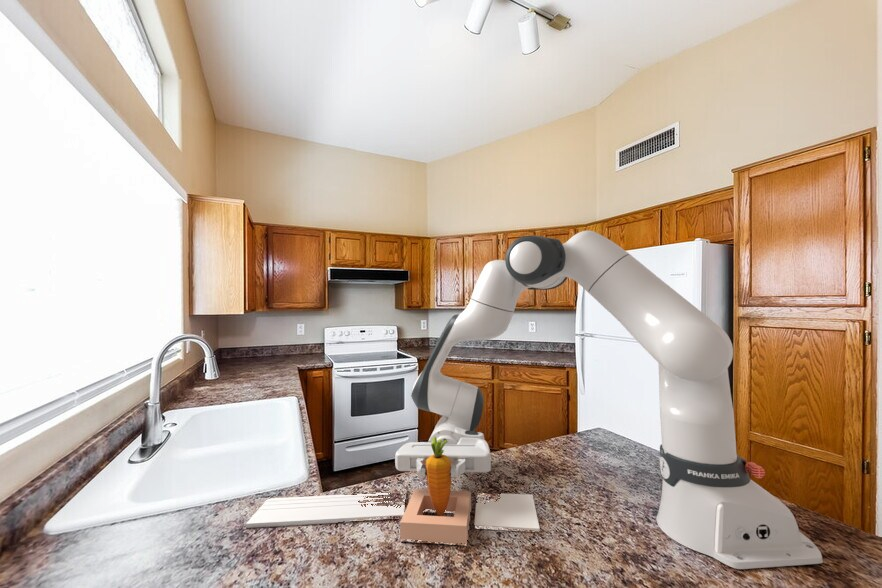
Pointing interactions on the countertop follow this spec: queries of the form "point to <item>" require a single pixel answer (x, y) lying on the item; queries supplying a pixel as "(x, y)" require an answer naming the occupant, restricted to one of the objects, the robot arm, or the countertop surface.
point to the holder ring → (436, 518)
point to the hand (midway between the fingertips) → (438, 474)
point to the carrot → (439, 476)
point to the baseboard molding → (320, 510)
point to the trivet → (508, 512)
